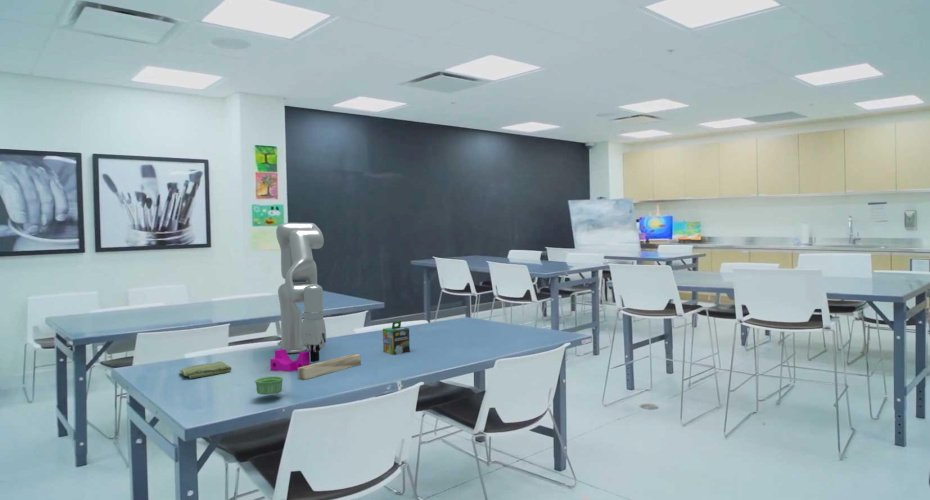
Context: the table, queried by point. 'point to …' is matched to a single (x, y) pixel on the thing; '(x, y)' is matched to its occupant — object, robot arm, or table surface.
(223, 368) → the washcloth
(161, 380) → the table surface
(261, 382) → the ramekin
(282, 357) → the toy block
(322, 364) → the board
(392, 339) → the chalk box
